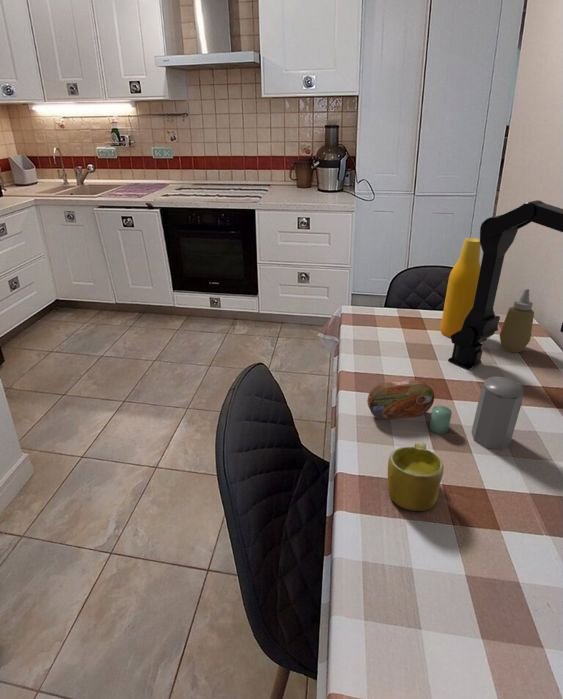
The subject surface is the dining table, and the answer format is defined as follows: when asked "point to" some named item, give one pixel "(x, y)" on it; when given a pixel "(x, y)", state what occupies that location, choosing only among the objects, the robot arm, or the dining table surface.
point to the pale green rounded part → (440, 419)
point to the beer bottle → (461, 288)
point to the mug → (414, 477)
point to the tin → (400, 399)
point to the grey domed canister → (497, 412)
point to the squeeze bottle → (518, 324)
